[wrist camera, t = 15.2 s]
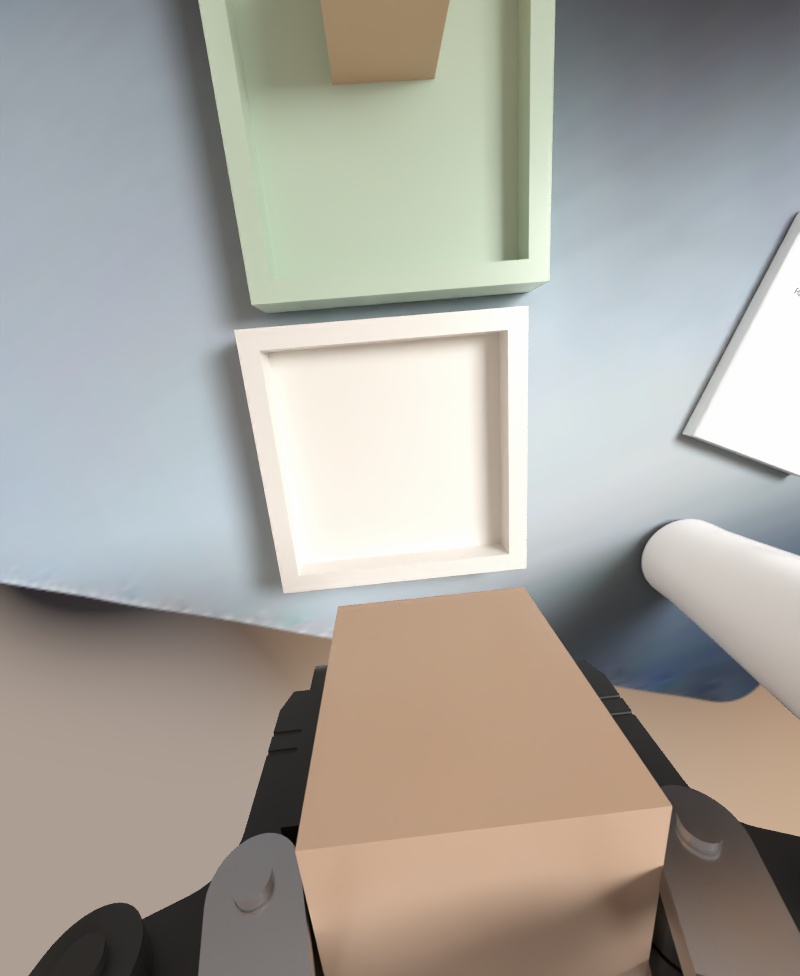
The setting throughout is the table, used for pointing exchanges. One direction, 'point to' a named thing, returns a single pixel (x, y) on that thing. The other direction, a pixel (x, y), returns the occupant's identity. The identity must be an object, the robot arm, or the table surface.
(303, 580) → the tray
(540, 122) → the tray
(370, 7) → the tan boxy piece
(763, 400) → the external hard drive
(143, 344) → the table surface
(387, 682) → the tan block
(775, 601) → the drinking glass
